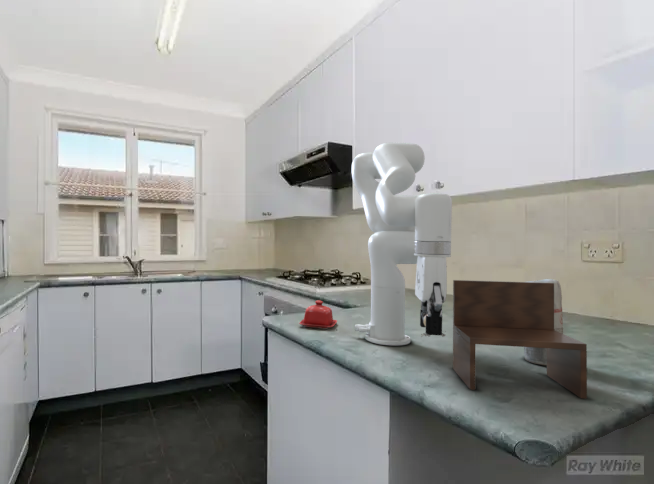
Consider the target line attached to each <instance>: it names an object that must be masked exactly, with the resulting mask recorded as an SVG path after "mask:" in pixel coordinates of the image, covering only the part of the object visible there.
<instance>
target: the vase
mask: <svg viewBox="0 0 654 484" xmlns="http://www.w3.org/2000/svg"><path fill="white" fill-rule="evenodd" d="M431 307H432V306H431ZM422 311H423V312H422V313H421V316H422V319H423V323H424V325H425V327H424V328H426V316H428V313H427V307H422ZM424 314H425V316H424ZM446 332H447V331H446V330H444V333H443V332H442V335H441V337H442V338H444V337H446V334H445V333H446ZM420 335H421V337H428V338H429V337H431V335H427V334H426V332H423V333H421V334H420Z"/></svg>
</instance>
